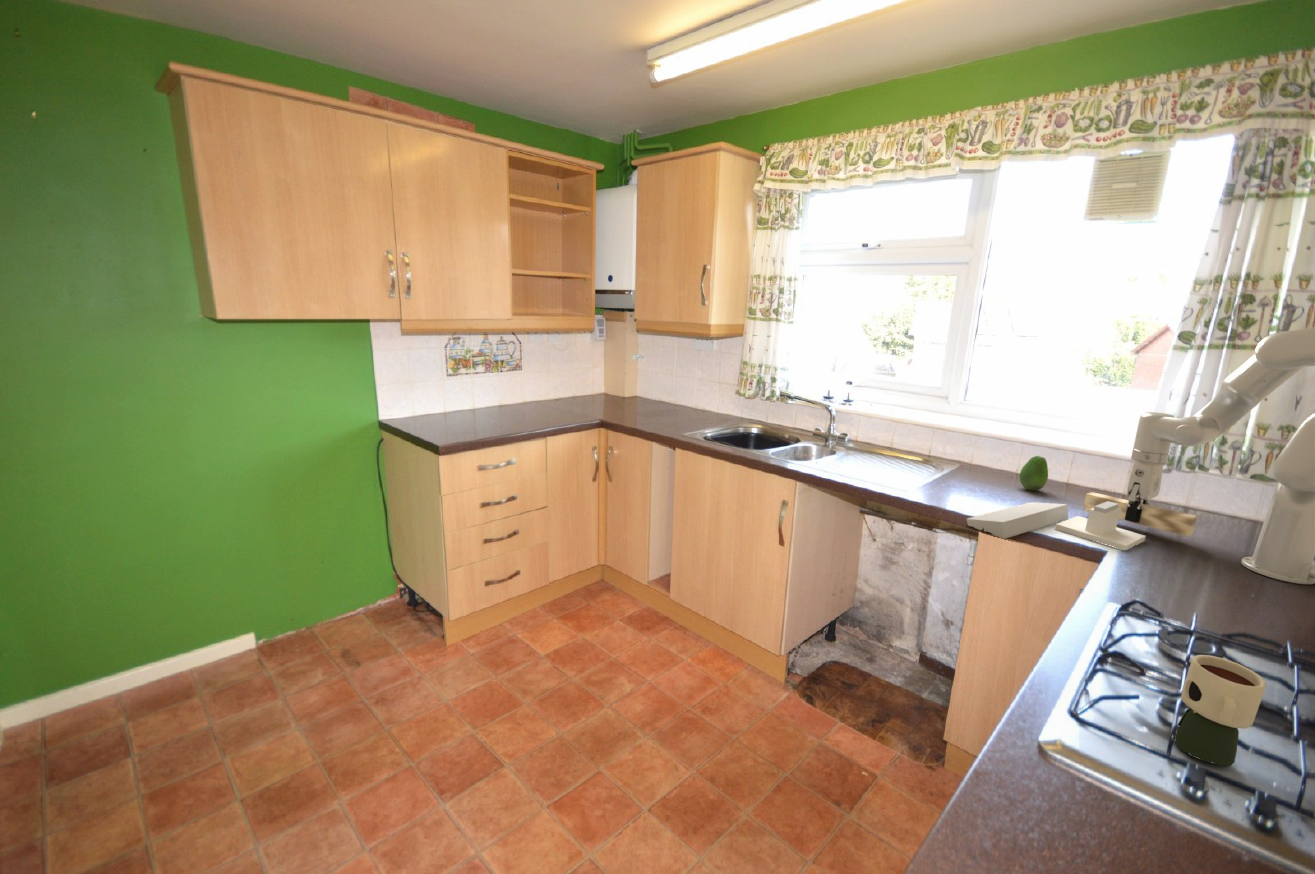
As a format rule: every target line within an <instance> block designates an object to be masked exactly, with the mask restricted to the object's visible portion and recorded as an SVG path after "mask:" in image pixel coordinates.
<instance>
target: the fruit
mask: <svg viewBox="0 0 1315 874" xmlns="http://www.w3.org/2000/svg"><path fill="white" fill-rule="evenodd" d="M1048 478H1049V467H1048V462H1047V460H1046V457H1043V456H1040V455H1035V456H1032V457H1030V458H1029V460H1028V461H1027V462H1026V463H1025V464H1024V465H1023V466H1022V468H1021V470H1020V472H1019V481H1020V483H1021V485H1022V487H1023V488H1025V489H1026V490H1027V491H1032V492H1036V491H1040V490H1041V489H1043V488H1044V487H1045V485H1046V484H1047V482H1048Z"/></svg>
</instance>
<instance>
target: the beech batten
mask: <svg viewBox="0 0 1315 874" xmlns="http://www.w3.org/2000/svg"><path fill="white" fill-rule="evenodd" d="M1084 497H1085V498H1084V501H1083V508H1082V511H1085V512H1090V509H1092V508H1094V507H1095V506H1096V505H1099V504H1102V503H1105V502H1107V501H1109V502H1113V503H1117V504H1118V508H1119V509H1121V511H1120V515H1119V519H1118V520H1121V521H1125V522H1129V523H1134V524H1138V525H1140V526H1141V525H1142V526H1144V527H1148V528H1152V529H1153V528H1154V529H1157V530H1160V531H1165V532H1169V533H1174V534H1177V535H1181V536H1184V537H1185V536H1186V537H1190V536H1192V535H1193V534H1194V530H1195V526H1196V522H1197V517H1198V515H1194V514H1189V513H1185V512H1181V511H1176V510H1172V509H1169V508H1168V509H1167V508H1163V507H1160V506H1159V507H1158V506H1155V505H1150V504H1149V505H1146V504H1142V506H1141V509H1142V513H1141V517H1140V521H1139V523H1135V522H1131V521H1127V520H1125V515H1126V511H1127V506H1128V502H1129V500H1128V499H1125V498H1119V497H1115V496H1111V495H1106V494H1102V493H1097V492H1094V491H1090V492H1088V493H1086V494H1085V496H1084Z"/></svg>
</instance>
